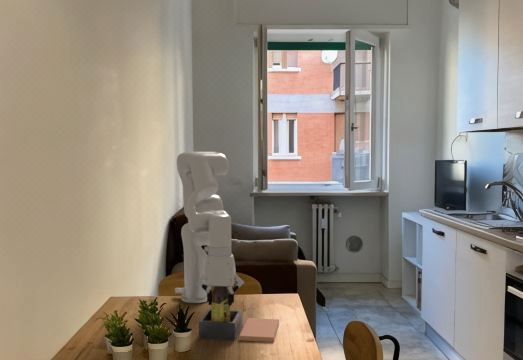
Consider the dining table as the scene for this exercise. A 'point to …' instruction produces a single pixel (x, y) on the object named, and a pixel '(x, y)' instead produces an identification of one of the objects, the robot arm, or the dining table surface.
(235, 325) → the bottle holder
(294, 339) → the dining table surface
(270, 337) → the plate
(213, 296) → the sauce bottle
